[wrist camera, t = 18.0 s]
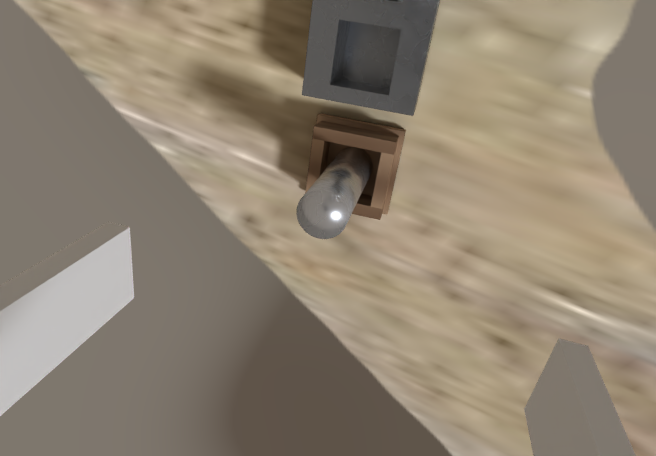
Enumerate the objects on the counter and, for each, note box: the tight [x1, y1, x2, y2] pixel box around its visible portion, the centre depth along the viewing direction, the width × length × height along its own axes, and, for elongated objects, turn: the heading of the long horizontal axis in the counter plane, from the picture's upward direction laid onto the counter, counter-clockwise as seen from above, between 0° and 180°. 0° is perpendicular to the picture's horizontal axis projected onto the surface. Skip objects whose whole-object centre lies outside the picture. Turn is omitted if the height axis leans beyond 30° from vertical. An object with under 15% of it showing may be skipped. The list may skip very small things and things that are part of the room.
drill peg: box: [297, 147, 373, 239], centre depth 40 cm, size 4×4×14 cm
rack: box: [305, 113, 406, 220], centre depth 46 cm, size 9×9×4 cm
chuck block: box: [302, 0, 440, 116], centre depth 39 cm, size 13×10×6 cm
